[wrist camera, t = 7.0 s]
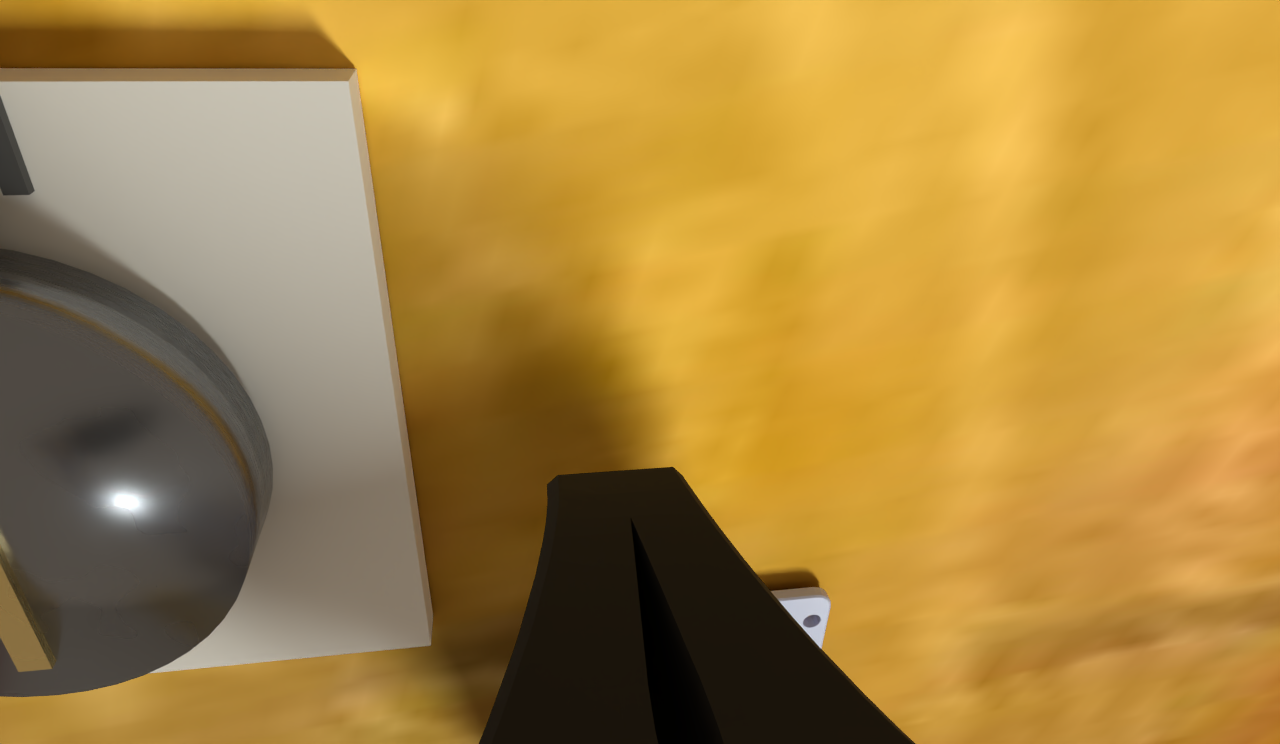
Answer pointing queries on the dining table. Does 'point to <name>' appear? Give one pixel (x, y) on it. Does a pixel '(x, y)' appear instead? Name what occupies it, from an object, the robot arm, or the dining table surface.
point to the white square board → (249, 312)
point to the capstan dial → (115, 482)
